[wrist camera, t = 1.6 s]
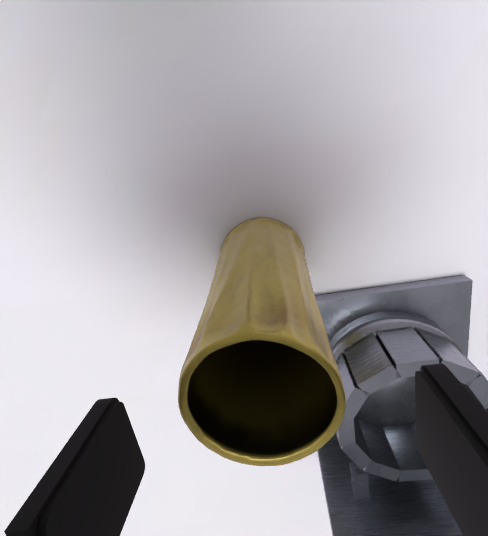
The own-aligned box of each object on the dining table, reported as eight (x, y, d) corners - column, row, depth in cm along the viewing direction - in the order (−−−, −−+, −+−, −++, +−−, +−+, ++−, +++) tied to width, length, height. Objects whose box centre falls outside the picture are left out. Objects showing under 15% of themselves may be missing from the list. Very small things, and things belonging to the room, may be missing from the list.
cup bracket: (295, 298, 24) (324, 427, 13) (463, 274, 23) (662, 397, 11) (316, 444, 29) (349, 631, 18) (454, 433, 28) (587, 627, 16)
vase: (226, 210, 22) (168, 302, 9) (313, 225, 22) (390, 338, 9) (215, 289, 24) (156, 461, 11) (294, 302, 24) (334, 490, 11)
